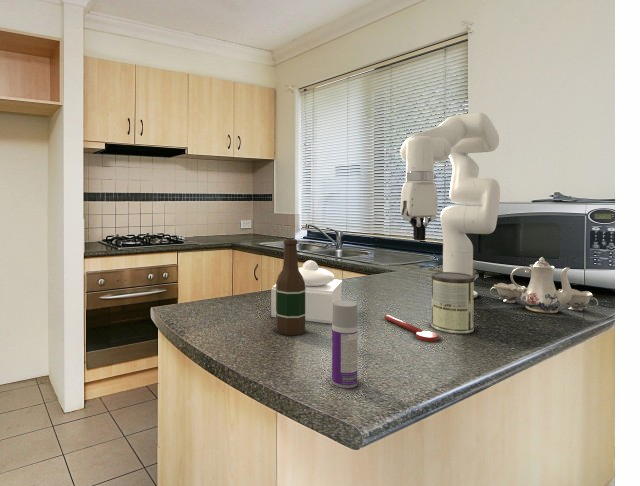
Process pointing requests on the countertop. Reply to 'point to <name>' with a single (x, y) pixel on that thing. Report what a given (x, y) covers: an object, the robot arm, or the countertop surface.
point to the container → (344, 344)
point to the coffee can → (453, 302)
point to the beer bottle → (290, 293)
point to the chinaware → (544, 290)
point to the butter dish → (316, 293)
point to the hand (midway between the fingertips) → (419, 240)
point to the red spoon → (414, 329)
